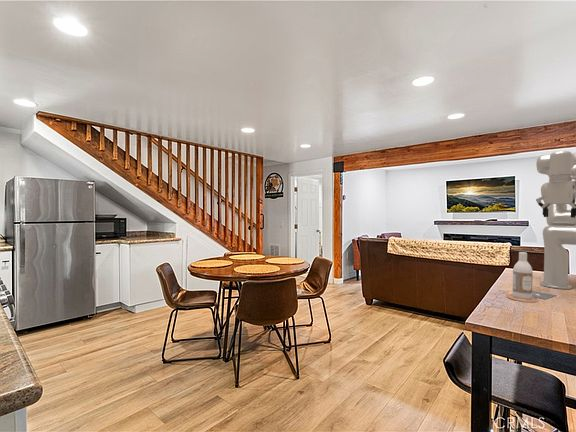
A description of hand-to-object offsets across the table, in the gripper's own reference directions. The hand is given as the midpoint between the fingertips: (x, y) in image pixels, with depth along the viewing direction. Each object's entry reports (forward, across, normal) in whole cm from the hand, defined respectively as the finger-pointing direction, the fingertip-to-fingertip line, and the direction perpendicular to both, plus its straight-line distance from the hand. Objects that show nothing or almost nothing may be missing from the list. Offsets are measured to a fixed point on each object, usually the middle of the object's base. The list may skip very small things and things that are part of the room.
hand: (559, 217), depth 141 cm
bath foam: (+36, +7, +17) cm, 40 cm away
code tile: (+36, +7, +4) cm, 37 cm away
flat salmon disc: (+36, +7, +18) cm, 41 cm away
